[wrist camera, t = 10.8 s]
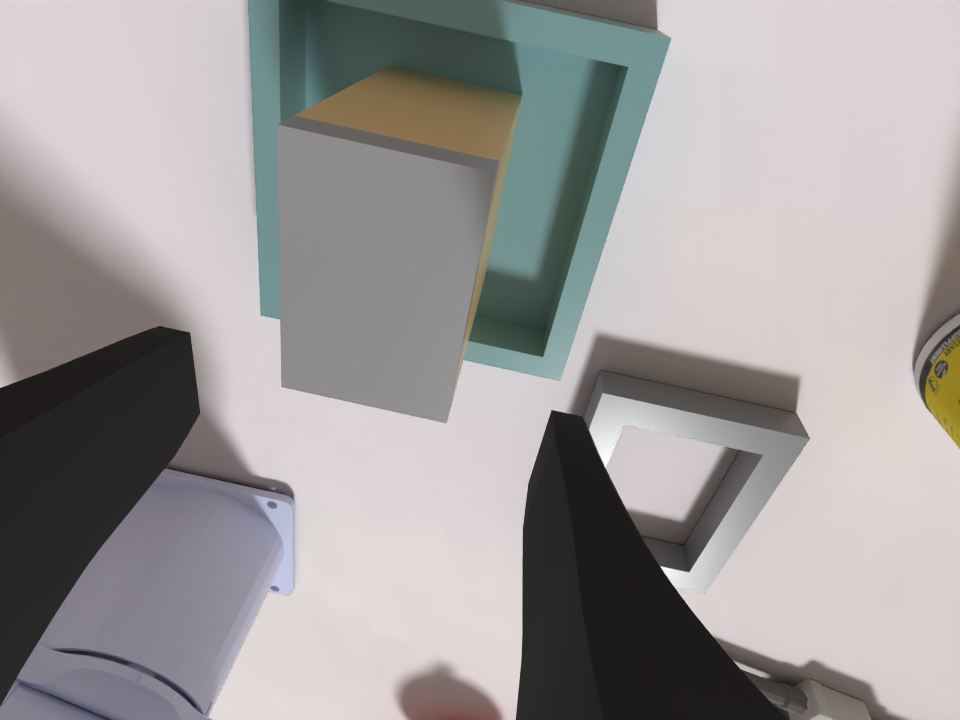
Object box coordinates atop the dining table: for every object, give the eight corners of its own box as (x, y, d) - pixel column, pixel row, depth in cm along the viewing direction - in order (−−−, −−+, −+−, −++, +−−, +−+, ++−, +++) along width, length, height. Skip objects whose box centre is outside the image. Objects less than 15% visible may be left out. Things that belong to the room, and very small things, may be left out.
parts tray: (289, 283, 22) (260, 315, 20) (286, -52, 16) (245, -55, 14) (560, 343, 22) (560, 381, 20) (657, 29, 16) (671, 38, 14)
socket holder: (541, 531, 28) (539, 557, 27) (600, 370, 23) (602, 393, 21) (698, 566, 28) (704, 593, 27) (796, 412, 23) (809, 438, 21)
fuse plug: (373, 252, 20) (281, 386, 14) (389, 65, 17) (277, 124, 10) (485, 277, 20) (446, 423, 14) (522, 95, 17) (495, 172, 10)
